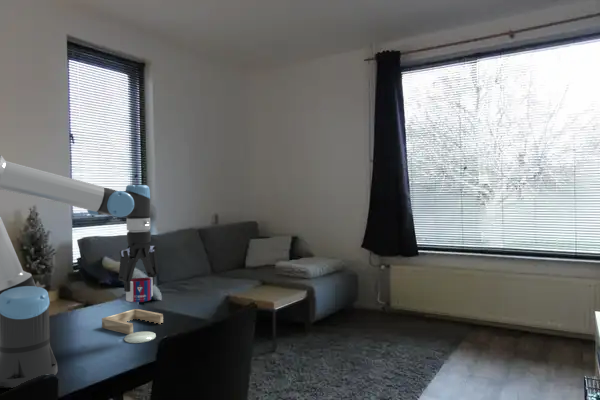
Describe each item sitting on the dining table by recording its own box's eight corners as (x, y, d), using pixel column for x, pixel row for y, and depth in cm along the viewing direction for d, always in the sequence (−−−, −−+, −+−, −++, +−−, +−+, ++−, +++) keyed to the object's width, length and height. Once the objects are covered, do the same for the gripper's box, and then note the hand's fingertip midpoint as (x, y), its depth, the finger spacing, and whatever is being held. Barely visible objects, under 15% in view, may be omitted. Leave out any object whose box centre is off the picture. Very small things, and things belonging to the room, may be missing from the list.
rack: (129, 334, 156) (129, 324, 155) (102, 327, 163) (101, 318, 163) (163, 323, 168) (162, 314, 168) (136, 317, 176) (135, 308, 176)
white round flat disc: (138, 345, 145) (138, 343, 145) (117, 339, 150) (117, 338, 150) (162, 336, 154) (162, 334, 154) (142, 331, 159) (142, 329, 159)
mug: (128, 302, 147) (128, 281, 147) (132, 295, 157) (132, 276, 156) (150, 301, 148) (150, 281, 148) (152, 294, 158) (152, 275, 158)
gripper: (120, 234, 140) (121, 306, 141) (169, 228, 158) (170, 293, 158) (105, 233, 144) (106, 303, 145) (154, 227, 162) (155, 291, 162)
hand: (139, 298), depth 152 cm, fingers closed on mug, 7 cm apart
